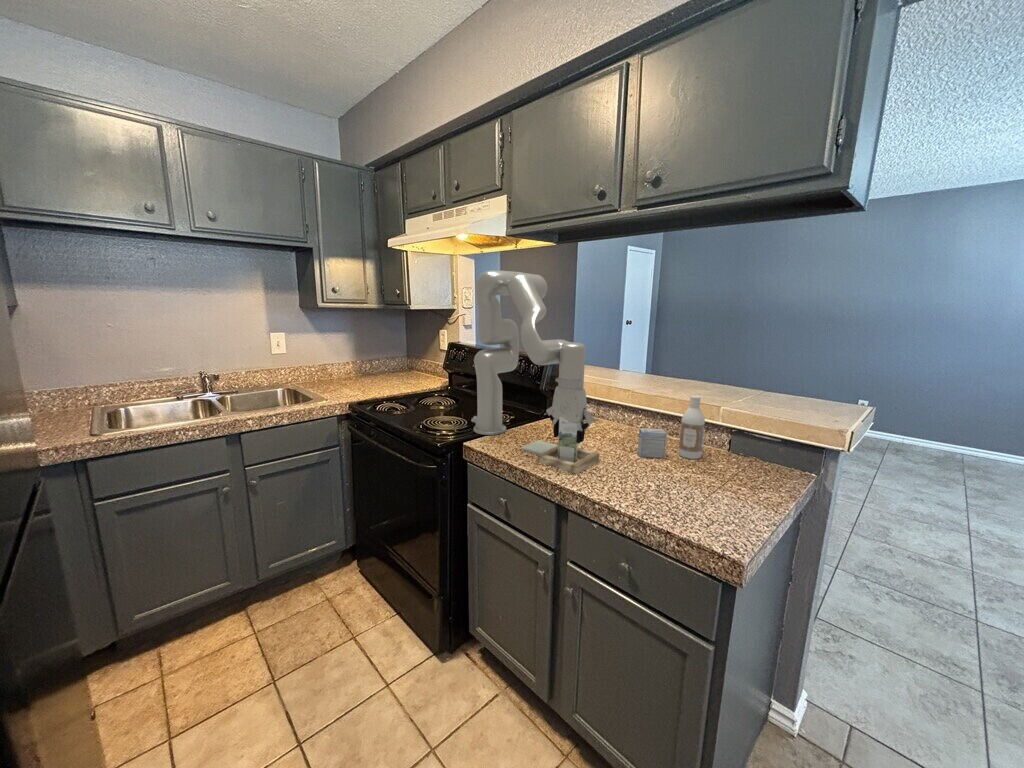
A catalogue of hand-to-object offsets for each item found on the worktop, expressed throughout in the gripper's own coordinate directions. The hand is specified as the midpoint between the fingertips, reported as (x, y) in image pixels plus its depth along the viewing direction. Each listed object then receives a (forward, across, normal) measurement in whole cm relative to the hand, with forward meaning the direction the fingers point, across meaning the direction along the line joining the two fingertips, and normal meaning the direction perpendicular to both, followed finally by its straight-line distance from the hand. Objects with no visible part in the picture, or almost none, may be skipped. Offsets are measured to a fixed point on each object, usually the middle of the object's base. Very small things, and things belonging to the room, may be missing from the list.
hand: (568, 438), depth 130 cm
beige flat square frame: (+7, 0, 0) cm, 7 cm away
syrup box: (+7, 0, 0) cm, 7 cm away
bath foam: (+7, +28, +30) cm, 42 cm away
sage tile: (+8, -12, +4) cm, 15 cm away
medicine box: (+8, +18, +22) cm, 30 cm away
